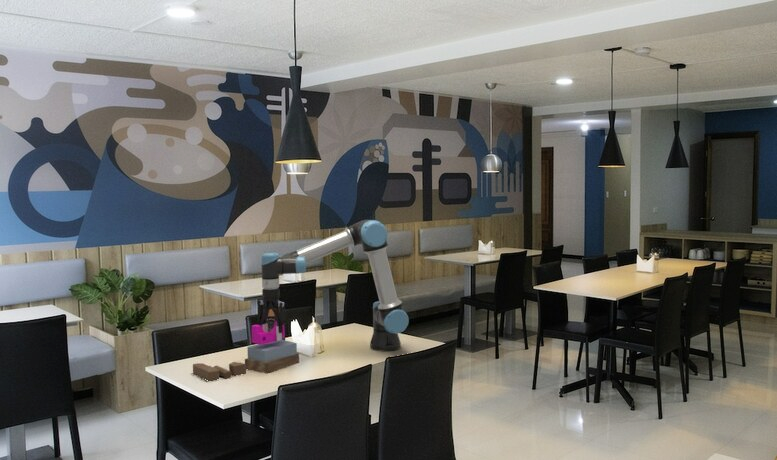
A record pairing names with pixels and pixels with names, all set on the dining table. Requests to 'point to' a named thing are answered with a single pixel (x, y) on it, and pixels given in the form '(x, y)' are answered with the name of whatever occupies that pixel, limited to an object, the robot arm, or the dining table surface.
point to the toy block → (264, 334)
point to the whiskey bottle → (272, 321)
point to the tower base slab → (271, 364)
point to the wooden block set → (218, 370)
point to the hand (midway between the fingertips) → (272, 339)
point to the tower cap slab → (272, 350)
